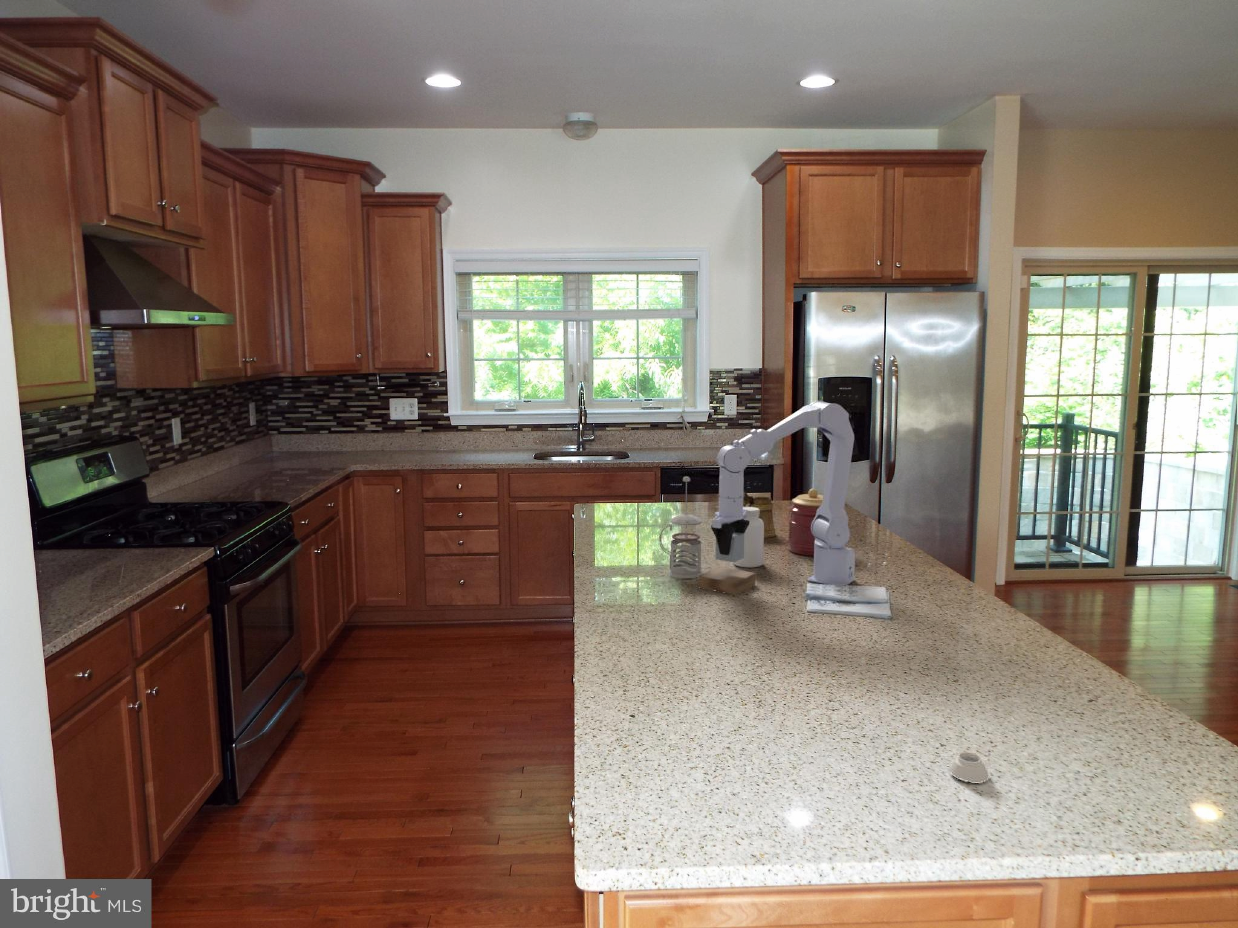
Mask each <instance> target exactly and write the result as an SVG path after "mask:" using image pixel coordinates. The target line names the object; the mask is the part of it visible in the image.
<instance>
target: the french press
mask: <svg viewBox="0 0 1238 928" xmlns="http://www.w3.org/2000/svg"><path fill="white" fill-rule="evenodd" d="M682 482H685V513H682V514H678V515H676V516H674V517H672V518H671V519H670V523H671V524H668V525H666V526H665V527H663V528H662V529H661V532H660V534H659V536H658V538H659V539H658V540H659V546H660V548H661V550H662V551H664V553H665V554H668V555H669V569H668V570H667V571H666V575H668V576H669V575H670V576H669V577H672V578H675V577H676V578H675V579H682V578H692V579H696V578H695V577H699V576H700V575H702V574H704V573H705V572H704V570H703V569H702V541H701V540H699V539H700V538H701V536H700V534H697V533H694V532H677V533H673V534H672V535H671V537H672V540H671V542H670V550H668V549H667V548H665V547H664V545H663V542H662V535H663V532H664V530H666V529H667V528H669V530H670V532H672V530H673V525H678V526H685V528H687V526H698V525H700V524H702V522H703V520H702V518H699V516H696V515H693V514H689V513H687V512H688V511H687V510H688V509H687V507H688V504H687V501H688V497H687V495H688V492H687V491H688V490H687V489H688V482H691V478H690V477H689V476H683V478H682ZM672 524H673V525H672ZM682 543H686V544H682ZM687 544H689V545H687ZM677 550H678V551H677ZM687 558H688V559H687ZM689 559H690V560H689ZM678 577H679V578H678Z"/></svg>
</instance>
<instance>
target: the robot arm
mask: <svg viewBox="0 0 1238 928" xmlns="http://www.w3.org/2000/svg"><path fill="white" fill-rule="evenodd" d="M849 417H850V413H849V412H848V411H847V410H845V409H844V407H843V406H842V405H840V404H838V403H830V402H825V401H822V400H816V401H813V402H811V403H810V404H807V405H804V406H802V407H801V408H800V409H799V410H797V411H795V412H794V413H792V414H791V415H789V416H788V417H786V418H785V419H783V420H781V421H780V422H778V423H776V424H775V425H773V426H772V427H770V428H768V429H767V430H765V429H763V428H760V429H755V428H753V429H752V430H750V432H749V434H748V435H746V436H745V437H743V438H741V439H739V440H737V439H736V440H733V444H732V445H731V444H730V445H725V446H722V447H721V448H720V449H719V452H718V453H717V456H716V457H715V460H716V463H717V465H718V466H719V478H718V482H719V484H718V511H716V512H714V518H712V519H711V526H710V527H711V528H710V529H711V531H712V532H713V535H714V536H715V541H716V540H717V543H718V547H719V552H720V554H722V555H729V552H730V546H731V539H732V536H733V533H734V532H737V533H743V534H744V533H745V531H746V529H747V527H748V526H749V521H748V520H744V518H748V510H745V509H743V490H744V482H745V481H744V478H745V477H744V473H745V472H744V470H745V469H746V468H747V466H748V464H749V463H751V462H753V461H755V460H757V459H758V458H760V457H761V456H763V455H765V454H767V453H768V452H770V451H772V450H773V447H774V444H775V443H776V442H777V441H778V442H779V441H780V440H781V439H783V438H785V437H787V436H789V435H792V434H794V433H795V432H797V431H799V430H801V429H803V428H804V429H805V428H808V429H812V428H813V429H818V430H820V431H821V432H822V433H823V435H825V436H826V438H827V439H828V440H829V441H830V442H829V443H830V444H829V451H828V457H827V467H826V472H825V479H824V480H825V481H824V487H823V494H822V495H823V500H822V505H821V506H820V507H819V508H818V509H817V512H816V516H815V518H814V520H813V521H812V524H811V532H812V534H813V535H814V537H815V545H814V556H813V575H811V576H809V577H808V578H807V579H806V580H807V581H808V582H812V583H817V584H822V585H825V584H828V585H849V584H851V583H852V582H854V581H855V580H856V578H855V569H856V568H855V565H856V554H855V549H853V548H852V547H847V546H846V544H847V543H848V542H849V540H850V535H851V532H850V531H851V530H850V528H849V516H848V514H847V511H846V509H845V505H846V499H847V498H846V497H847V491H848V483H849V478H850V477H849V476H850V471H851V463H852V455H853V448H854V443H855V434H854V431H853V428H852V425H851V422H850V418H849Z"/></svg>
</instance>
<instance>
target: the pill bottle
mask: <svg viewBox="0 0 1238 928" xmlns="http://www.w3.org/2000/svg"><path fill="white" fill-rule="evenodd" d="M743 509H745V510H748V518H744V520H748V521H749V526H748V527H747V529H746V531H745V533H744V558H743V559H741V560H738V561H736V562H732V563H733V564H734V565H735V566H737V567H742V568H758V567H761V566H763V564H764V552H765V551H764V550H765V549H764V548H765V547H764V546H765V545H764V544H765V543H764V541H765V538H764V523H763V521H762V520H761V519H760V518H758V517H759V514H760V510H759V508H755V507H748V506H745V507H743Z"/></svg>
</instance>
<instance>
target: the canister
mask: <svg viewBox="0 0 1238 928" xmlns="http://www.w3.org/2000/svg"><path fill="white" fill-rule="evenodd" d="M822 500H823V494H819V493H818V490H817V489H816V488H810V489H809V490H808V492H807V493H805V494H799V495H797V496H796V497H795V498H792V499H791V502H792V503H793V504H792V505H791V506H789V507H788V511H789V513H790V517H789V518H788V538H787V547H788V550H789V551H790V552H792V553H794V554H797V555H803V556H811V557H814V545H815V537H814V535H813V534H812V532H811V524H812V521H813V520H814V518H815V516H816V512H817V509H818V508H819V507H820V506H821V505H822Z"/></svg>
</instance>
